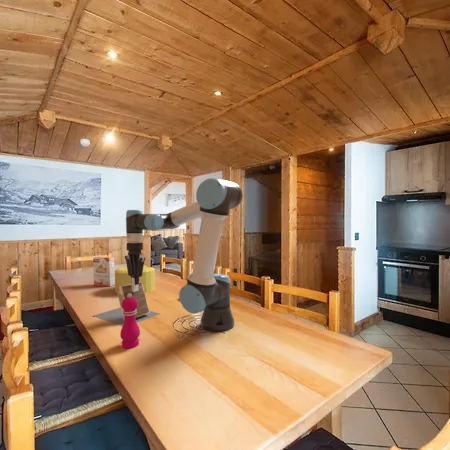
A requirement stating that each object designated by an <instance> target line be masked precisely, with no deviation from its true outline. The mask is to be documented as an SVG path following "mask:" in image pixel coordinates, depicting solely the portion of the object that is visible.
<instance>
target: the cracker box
mask: <svg viewBox="0 0 450 450" xmlns="http://www.w3.org/2000/svg"><path fill="white" fill-rule="evenodd" d="M92 265H93V286H97V287H98V286H99V287H108V288H109V287H113V286H115V270H116V269H115V256H104V255H103V256H102V255H101V256H99V255H97V256H93V263H92Z"/></svg>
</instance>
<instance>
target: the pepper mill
mask: <svg viewBox="0 0 450 450" xmlns="http://www.w3.org/2000/svg"><path fill="white" fill-rule="evenodd" d="M121 306H122V308H123V309H124V310H123V315H124V324H123V326H121V329H120V332H119V333H120V335H119V337H120V338H121V339H122V340H121V346H122V348H124V349H133V348H136V347H138V345H139V344H140V339H139V337H140V335H141V330H140V327H139V325H138V322H136V317H135V316H136V313H137V312H136V311H137V309H136V308H137V306H138V301H137V299H136V298H134V297H132V294H131V293H129V294H127V298H125V299H124V300H123V301H122V304H121ZM121 306H120V307H121Z"/></svg>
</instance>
